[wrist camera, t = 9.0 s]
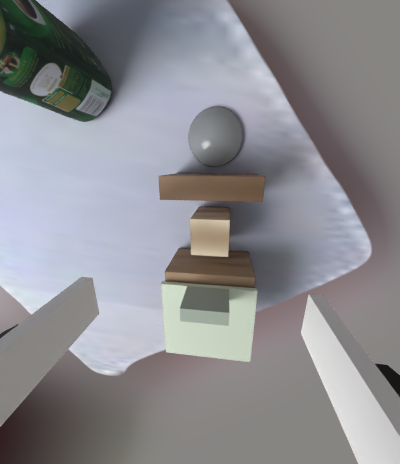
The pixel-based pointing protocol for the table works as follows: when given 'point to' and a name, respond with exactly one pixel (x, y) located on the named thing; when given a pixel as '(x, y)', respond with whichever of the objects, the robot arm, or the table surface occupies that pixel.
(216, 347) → the cover
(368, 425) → the robot arm
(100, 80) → the coffee jar
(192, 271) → the brown and beige stand
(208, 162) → the grey round disc
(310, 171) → the table surface
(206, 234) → the block
